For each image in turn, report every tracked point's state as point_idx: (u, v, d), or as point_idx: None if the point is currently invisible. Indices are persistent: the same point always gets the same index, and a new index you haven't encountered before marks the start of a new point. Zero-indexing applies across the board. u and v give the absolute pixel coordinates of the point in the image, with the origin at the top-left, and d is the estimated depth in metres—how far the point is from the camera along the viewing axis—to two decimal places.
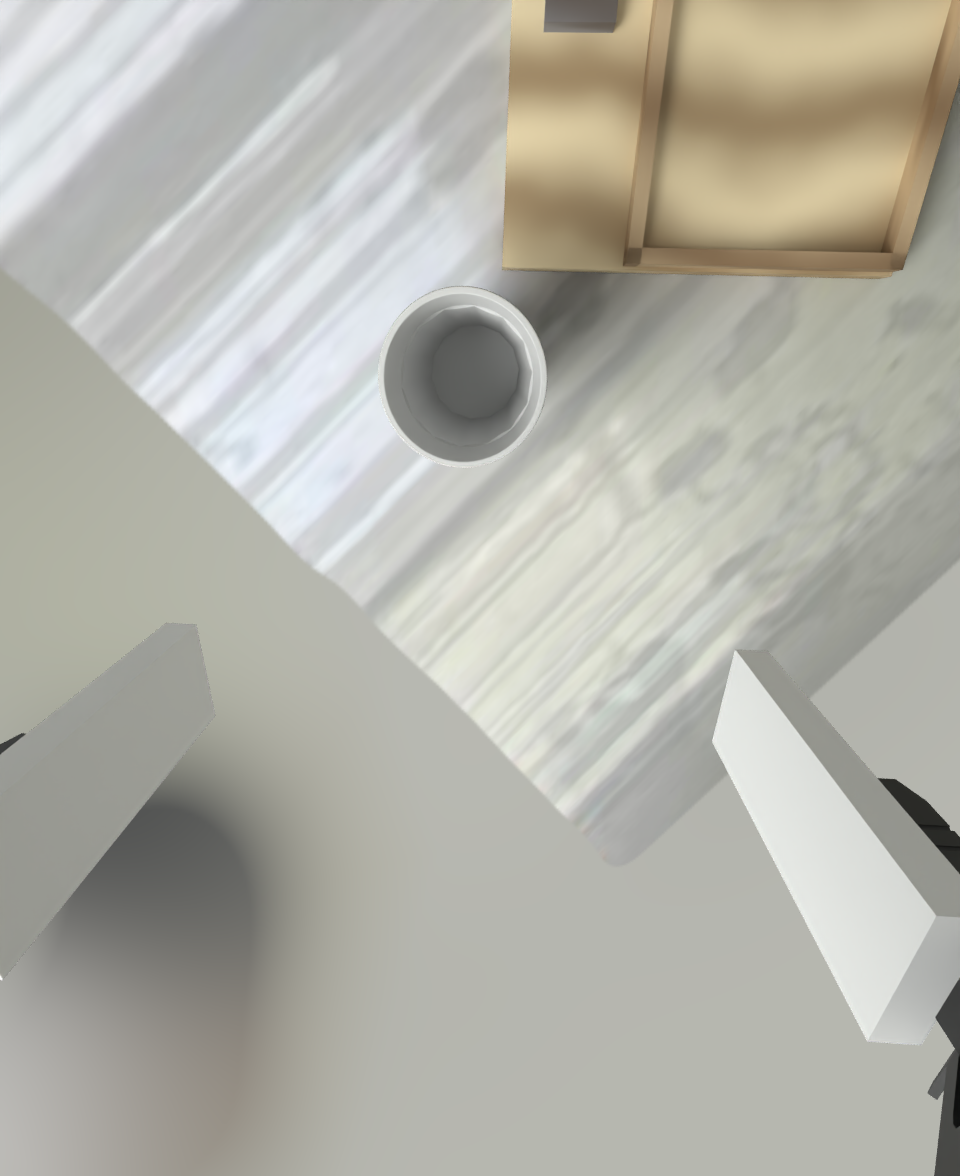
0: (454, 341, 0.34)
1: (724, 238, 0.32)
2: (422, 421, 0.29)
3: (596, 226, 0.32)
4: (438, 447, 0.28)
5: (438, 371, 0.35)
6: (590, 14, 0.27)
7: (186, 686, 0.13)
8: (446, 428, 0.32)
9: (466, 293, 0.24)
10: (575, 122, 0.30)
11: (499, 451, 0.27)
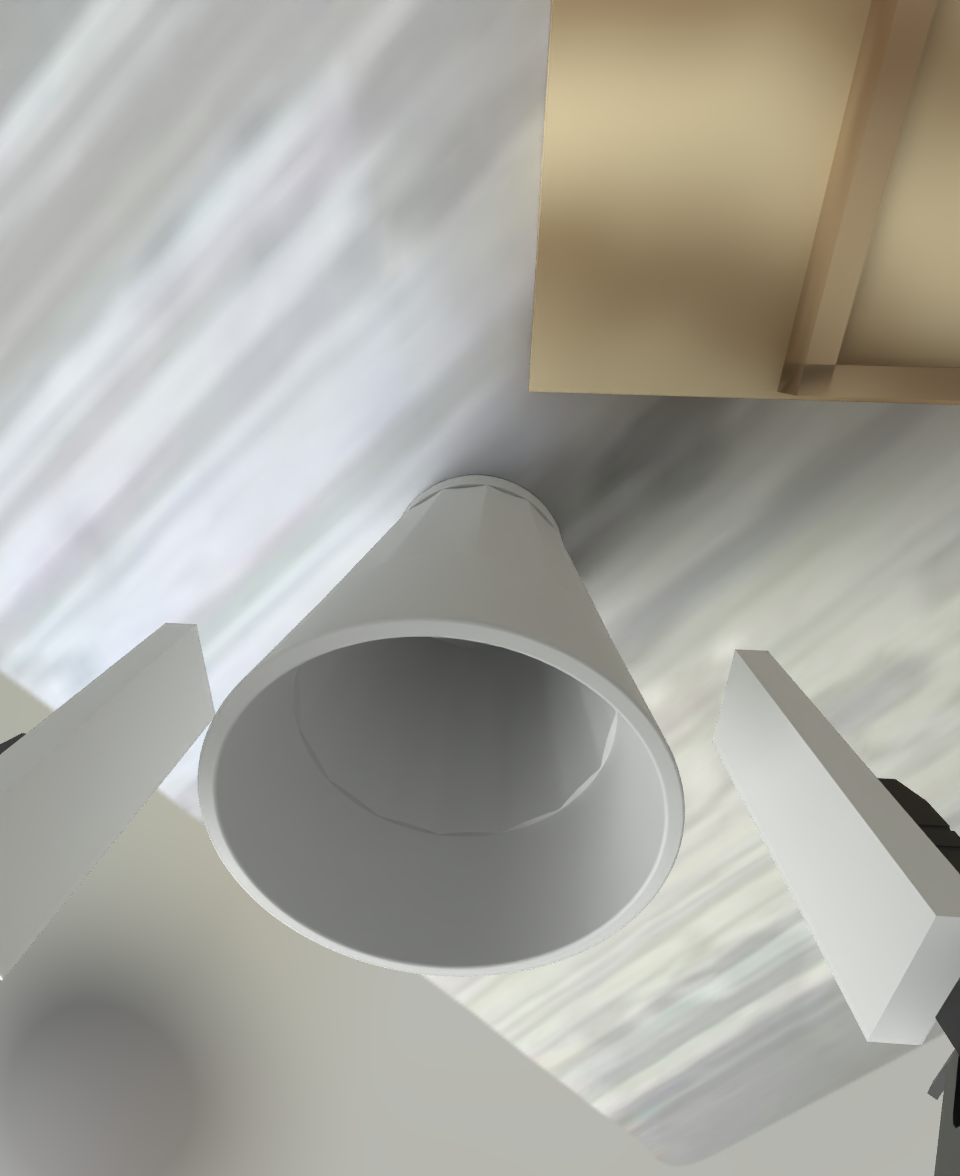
0: None
1: None
2: (355, 778, 0.13)
3: (729, 314, 0.15)
4: (387, 878, 0.12)
5: None
6: None
7: (186, 686, 0.13)
8: (415, 740, 0.15)
9: (446, 635, 0.07)
10: (702, 89, 0.13)
11: (537, 947, 0.10)
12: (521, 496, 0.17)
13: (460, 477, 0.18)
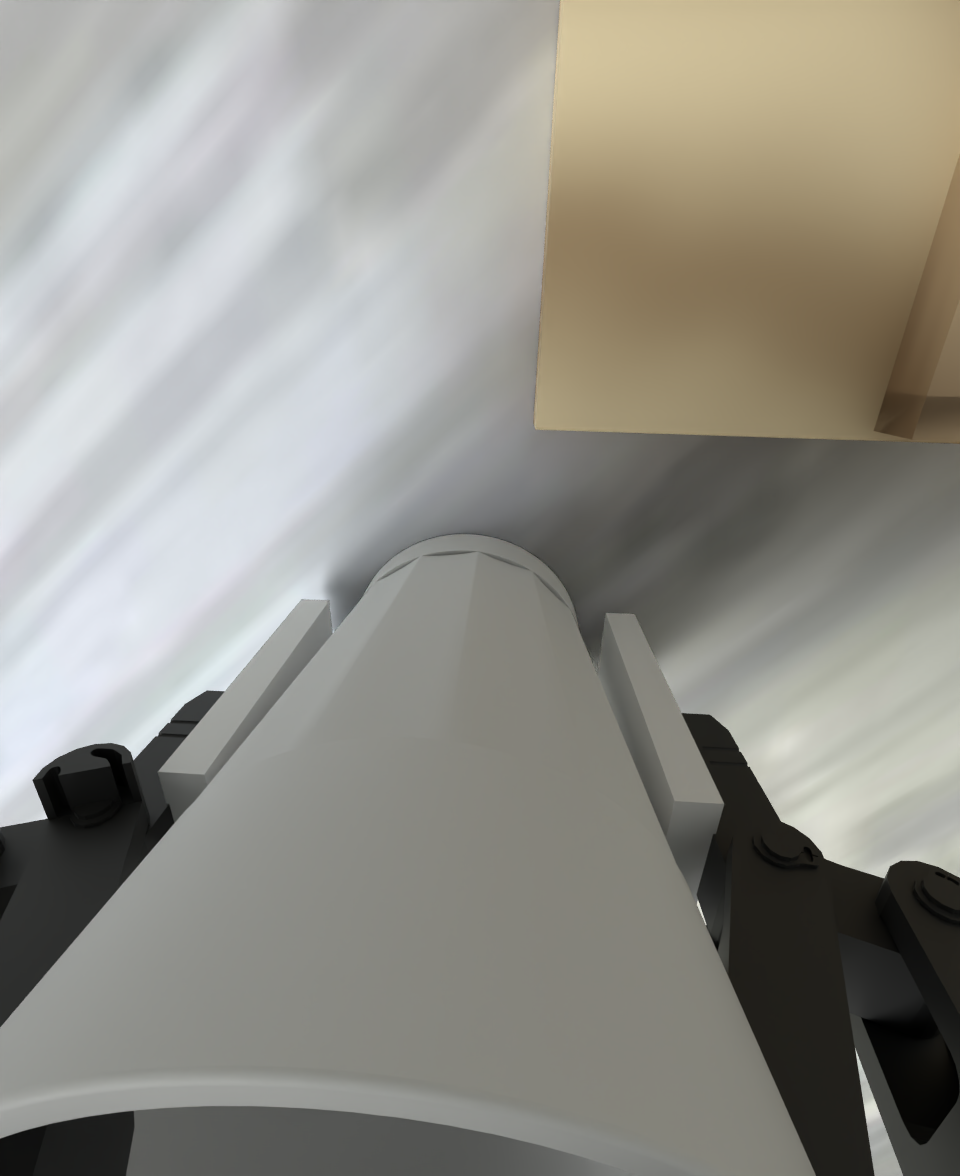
0: None
1: None
2: None
3: (813, 326, 0.11)
4: None
5: None
6: None
7: None
8: None
9: (351, 1105, 0.03)
10: (790, 0, 0.09)
11: None
12: (523, 566, 0.13)
13: (444, 537, 0.14)
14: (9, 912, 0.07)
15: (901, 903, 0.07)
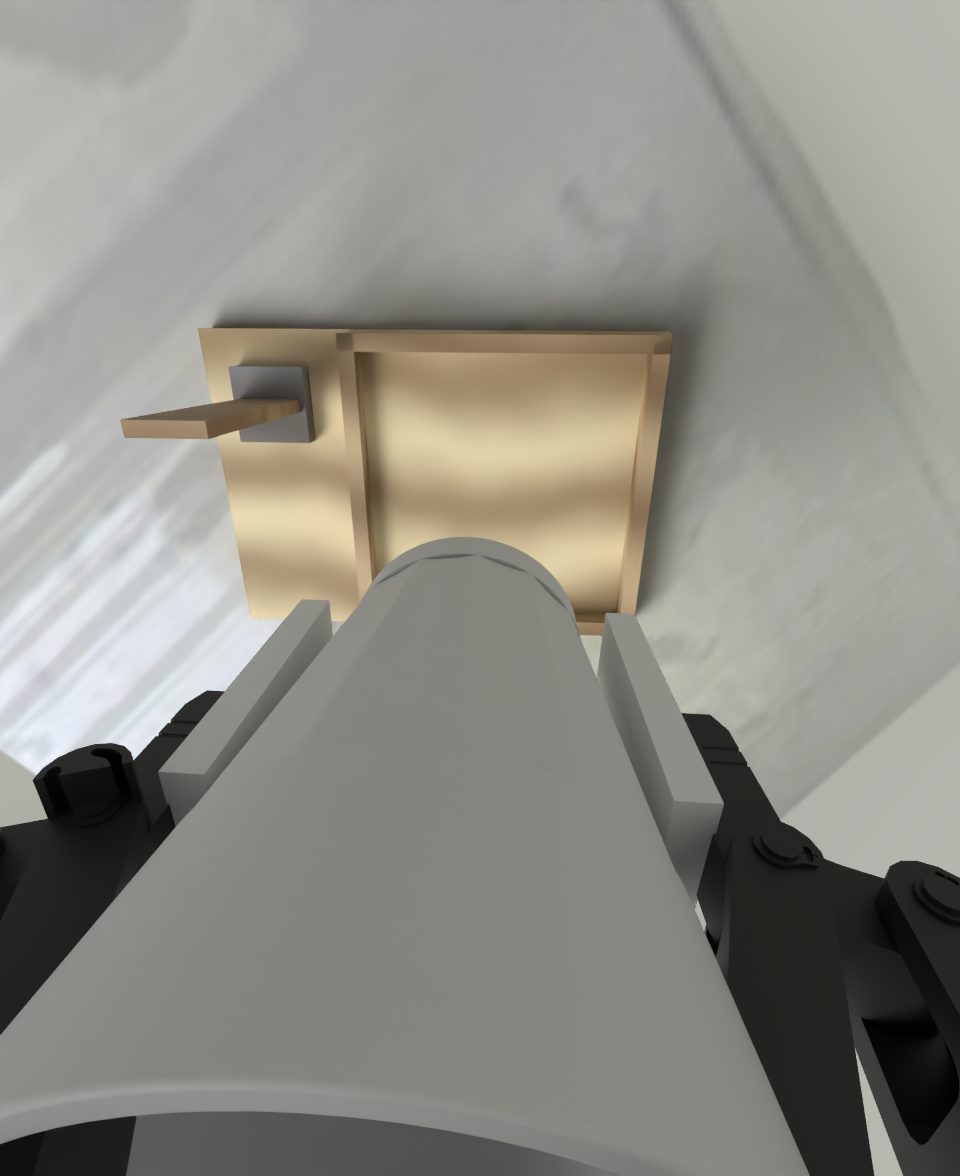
0: None
1: None
2: None
3: (334, 588, 0.32)
4: None
5: None
6: (283, 436, 0.28)
7: None
8: None
9: (351, 1110, 0.03)
10: (295, 508, 0.30)
11: None
12: (523, 569, 0.13)
13: (443, 540, 0.14)
14: (9, 911, 0.07)
15: (901, 903, 0.07)
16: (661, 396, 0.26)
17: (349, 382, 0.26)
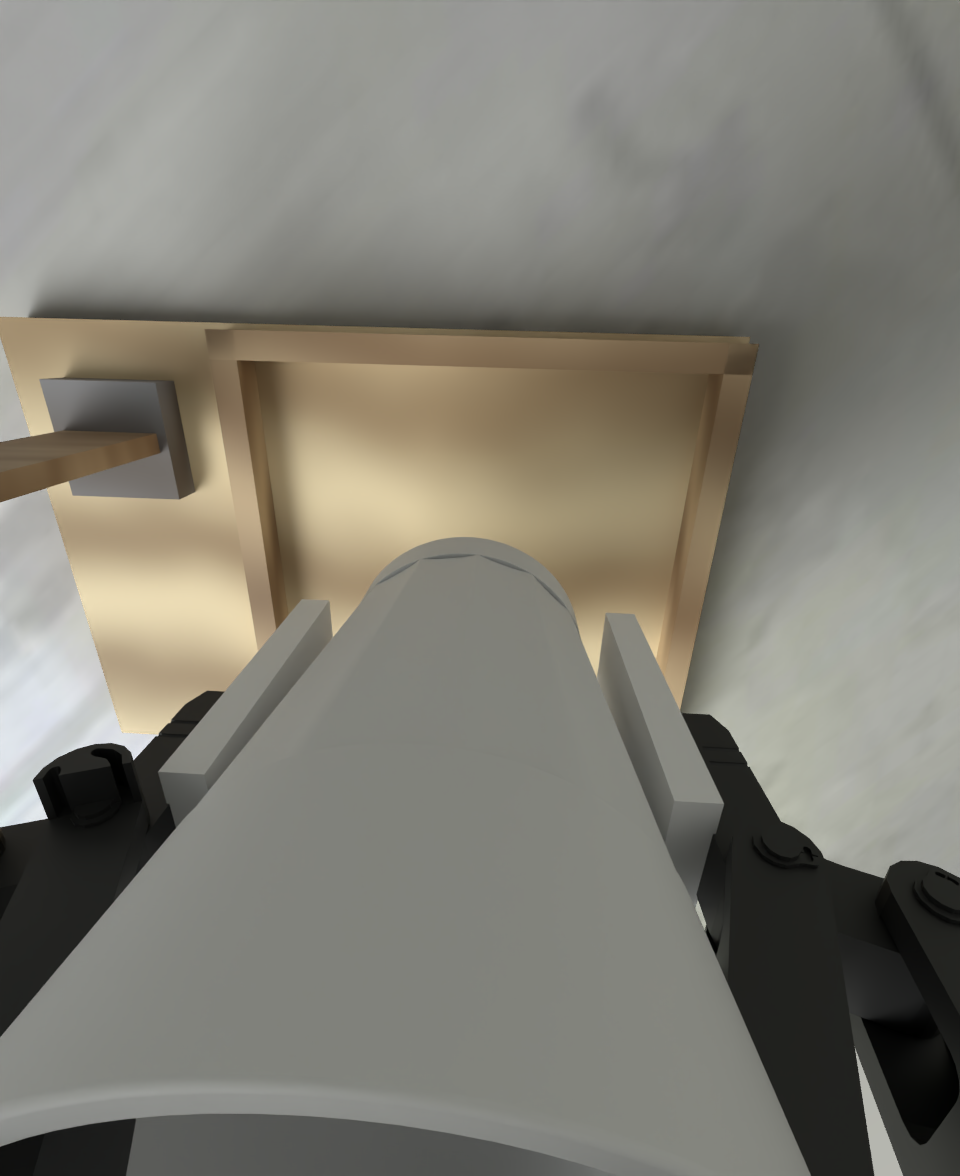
0: None
1: None
2: None
3: None
4: None
5: None
6: (138, 489, 0.18)
7: None
8: None
9: (352, 1112, 0.03)
10: (173, 588, 0.20)
11: None
12: (523, 569, 0.13)
13: (444, 540, 0.14)
14: (9, 912, 0.07)
15: (901, 903, 0.07)
16: (732, 441, 0.16)
17: (233, 409, 0.16)
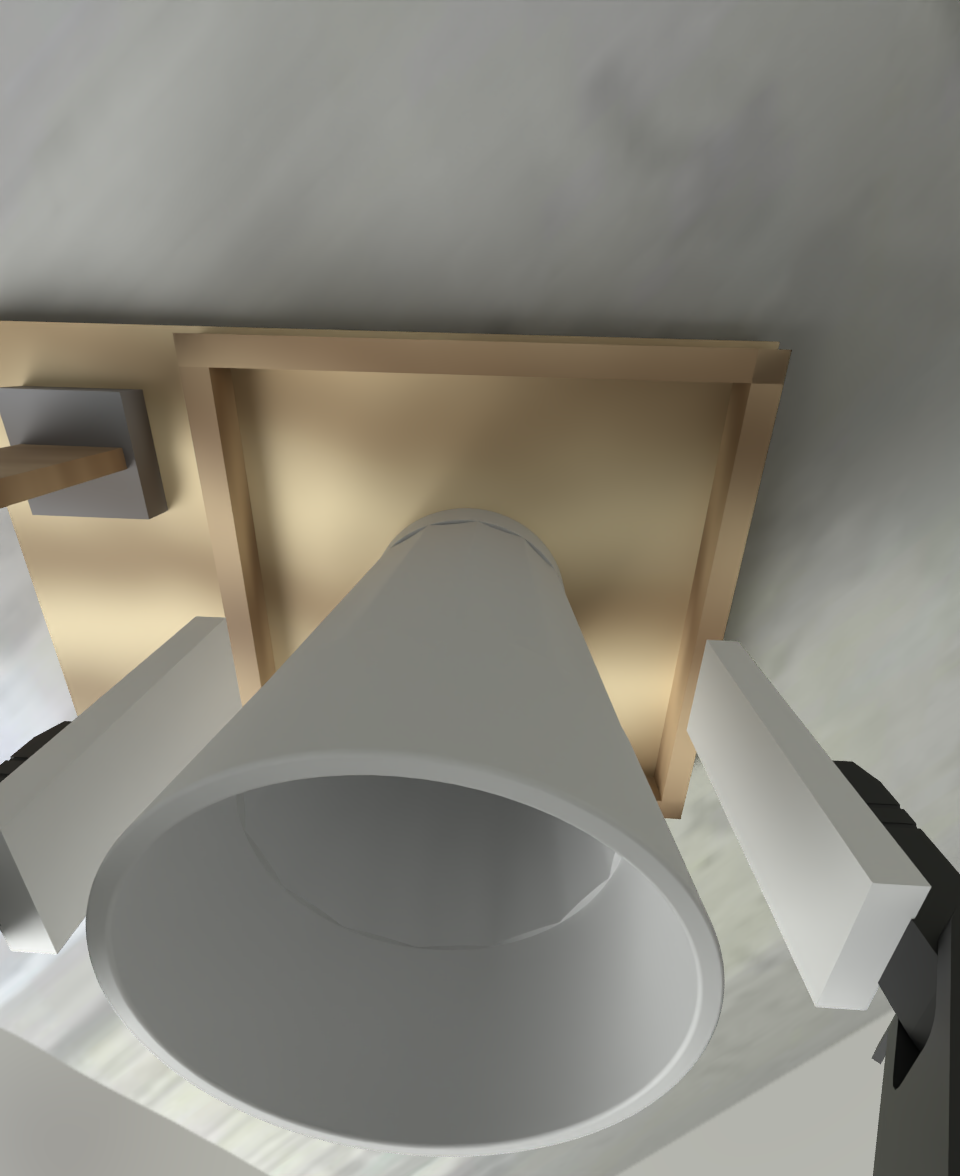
0: None
1: None
2: (316, 881, 0.11)
3: None
4: (349, 1015, 0.10)
5: None
6: (103, 508, 0.16)
7: (216, 677, 0.13)
8: (392, 821, 0.13)
9: (401, 774, 0.05)
10: (146, 613, 0.19)
11: (533, 1122, 0.08)
12: (515, 533, 0.16)
13: (448, 511, 0.16)
14: None
15: None
16: (760, 457, 0.14)
17: (205, 421, 0.15)
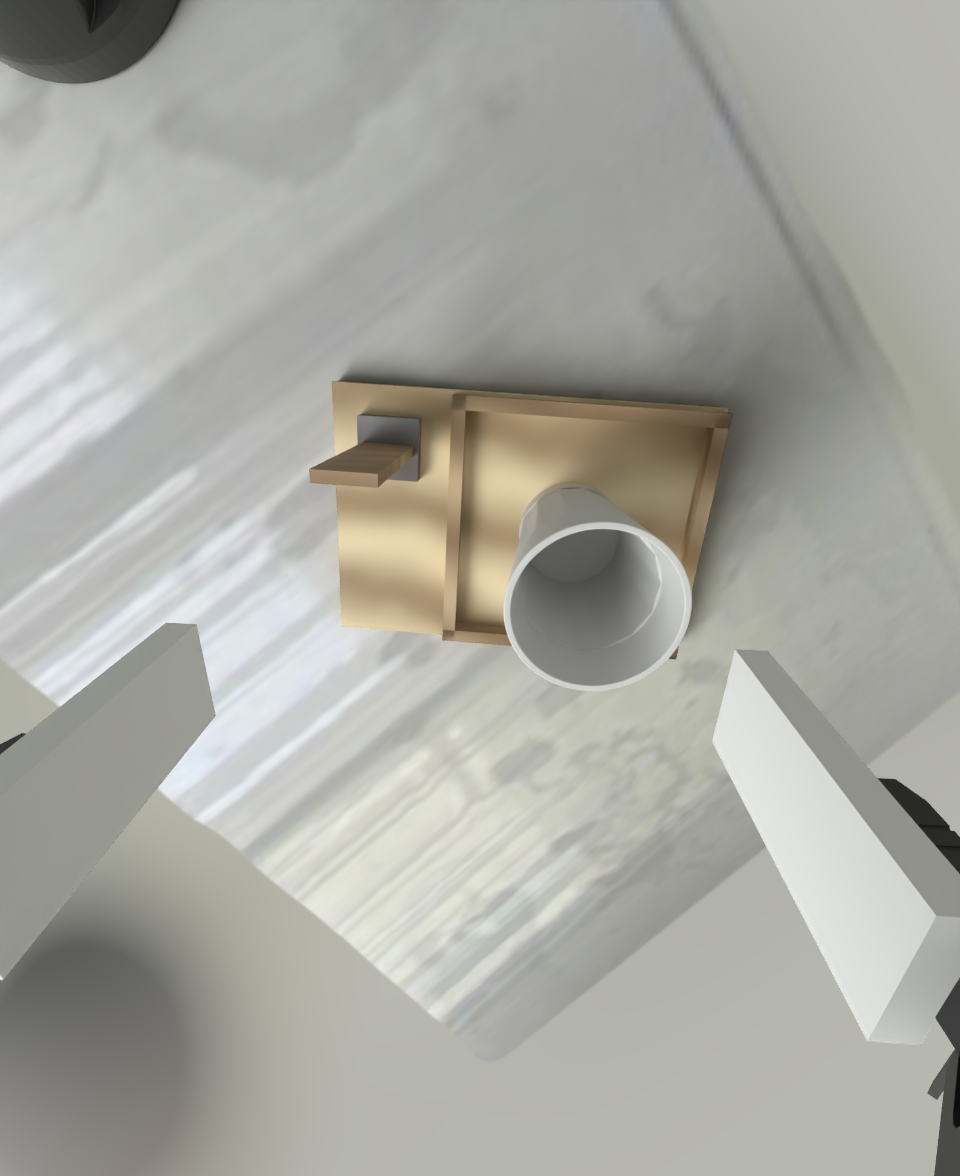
0: None
1: None
2: (533, 621, 0.27)
3: (419, 604, 0.37)
4: (554, 658, 0.26)
5: None
6: (395, 475, 0.32)
7: (186, 686, 0.13)
8: (550, 615, 0.29)
9: (613, 528, 0.22)
10: (394, 534, 0.35)
11: (628, 676, 0.24)
12: (601, 494, 0.32)
13: (564, 483, 0.33)
14: None
15: None
16: (718, 461, 0.31)
17: (458, 434, 0.31)
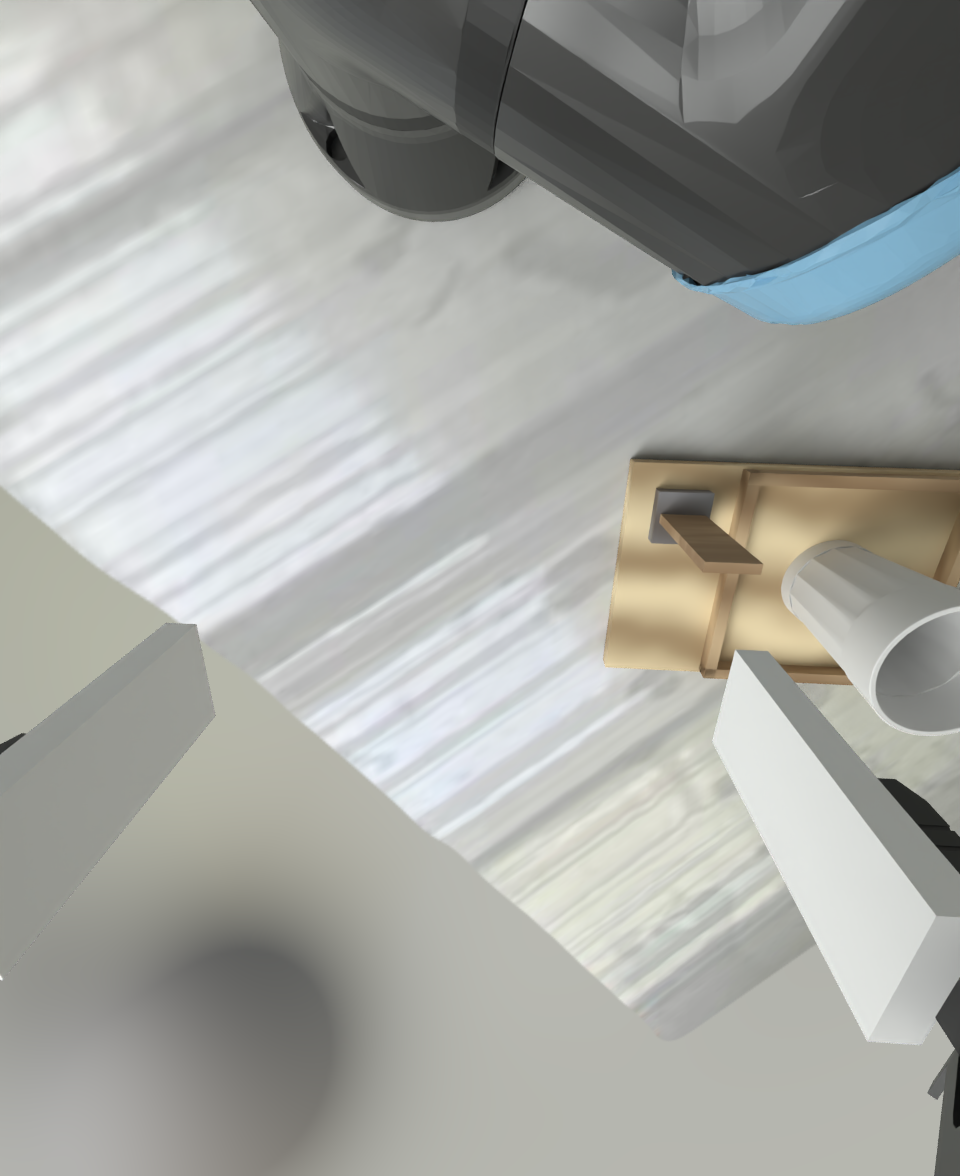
0: None
1: (778, 656, 0.41)
2: None
3: (679, 646, 0.41)
4: (887, 707, 0.31)
5: None
6: None
7: (186, 686, 0.13)
8: None
9: None
10: (668, 588, 0.40)
11: None
12: None
13: (831, 541, 0.37)
14: None
15: None
16: None
17: (750, 505, 0.36)
